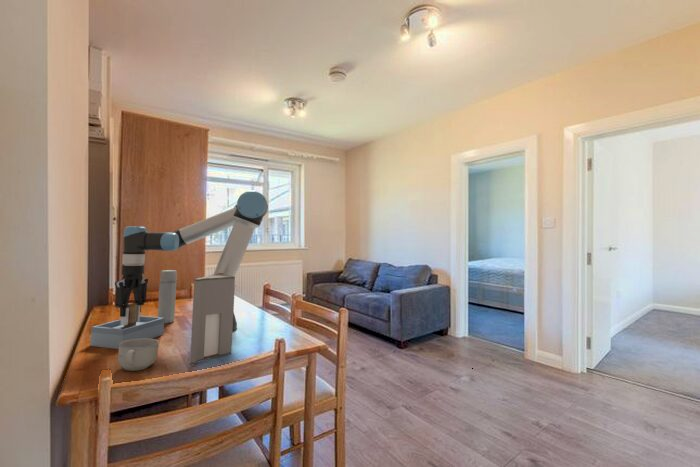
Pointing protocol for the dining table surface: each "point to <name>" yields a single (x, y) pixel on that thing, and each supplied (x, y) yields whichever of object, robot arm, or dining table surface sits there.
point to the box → (125, 331)
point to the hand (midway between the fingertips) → (130, 322)
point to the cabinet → (212, 317)
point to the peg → (131, 315)
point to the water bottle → (167, 295)
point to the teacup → (137, 353)
